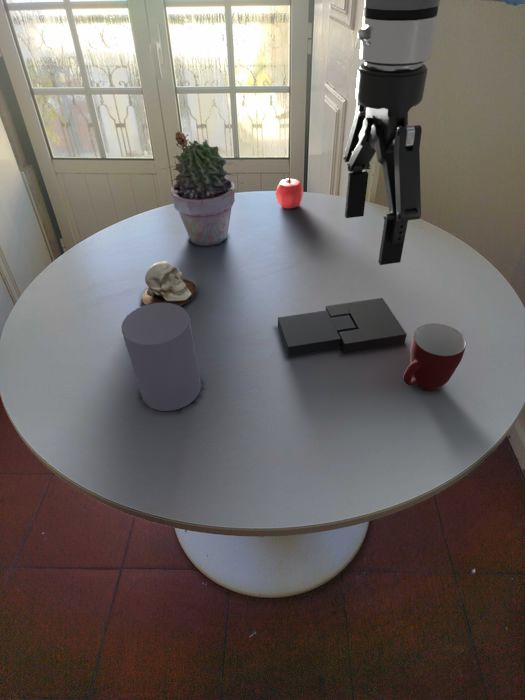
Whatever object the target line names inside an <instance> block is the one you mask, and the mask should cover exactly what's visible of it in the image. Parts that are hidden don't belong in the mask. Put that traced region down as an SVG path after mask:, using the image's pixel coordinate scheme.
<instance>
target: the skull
mask: <svg viewBox="0 0 525 700" xmlns="http://www.w3.org/2000/svg"><path fill="white" fill-rule="evenodd" d="M144 282H145V284H146V286H147V287H148V288H147V289H146V290H144V292H143V294H142V296H141V301H142V302H143V304H144V306H145V305H148V304H153V303H171V304H175V305H178V306H180V307H181V306H182V305H185V304H187V303H188V302H190V301H191V300H193V298H195V296H196V295H197V291H198V290H197V289H198V287H197V285H196V284H195V283H194V282H193V281H191V280H188V279H186V278H184V275H183V273H182V272H181V271H179V270H178V267H176V266H175V265H173V264H171V263H170V262H169V261H158V262H155V263H154V264H152V265H151V266H150V267H149V268H148V269H147V271H146V273H145V276H144Z"/></svg>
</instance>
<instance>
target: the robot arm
mask: <svg viewBox="0 0 525 700" xmlns="http://www.w3.org/2000/svg"><path fill="white" fill-rule="evenodd" d="M480 1H483V2H494V3H495V2H496V3H503V4H505V5H507V6H513V7H516V6H519V5H525V0H480ZM440 2H441V0H364V5H363V13H362V27H361V29H359V30H358V32H357V39H358V40H359V41H360V49H359V59H360V60H361V61H362V62H363V63H361V64H360V65H359V67H358V68H357V75H356V76H357V77H356V88H355V100H356V106H355V113H354V117H353V120H352V125H351V128H350V131H349V135H348V138H347V142H346V145H345V149H344V152H343V156H342V158H343V159H342V160H343V162H344V163H347V164H346V170H347V172H349V173H348V176H347V185H346V186H347V187H346V198H345V208H344V218H346V219H351V218H361V217H364V215H365V207H366V198H367V190H368V181H369V172H368V170H371V164H370V163H371V161H372V159H373V158H374V155H375V154H376V158H377V162H378V163H379V164H380V165H381V166H382V172H383V179H384V180H383V181H384V188H385V193H386V199H387V209H388V213H387V214H385V215H384V216H383V219H384V221H383V228H382V235H381V240H380V246H379V247H380V248H379V255H378V264H379V266H383V265H392V264H398V263H401V261H402V255H403V249H404V244H405V240H406V239H405V238H406V233H407V229H408V222H409V221H413V220H419V219H421V217H422V200H421V198H422V197H421V158H420V157H421V153H420V147H421V139H422V133H423V131H422V125H420V124H417V125H416V124H415V125H409V111H410V110H411V109H412V108H413V107H416V106H418V105H419V104H421V102H422V101H423V98H424V93H425V86H426V81H427V76H428V67H427V66H426V64H424V63H426V62H427V61H429V59H430V58H431V54H432V47H433V42H434V37H435V31H436V27H437V26H436V25H437V20H438V11H439V6H440Z"/></svg>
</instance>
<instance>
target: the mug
mask: <svg viewBox="0 0 525 700" xmlns="http://www.w3.org/2000/svg"><path fill="white" fill-rule="evenodd" d="M466 348H467V341H466V338H465V337H464V335H463V334H462V333H461V332H460V331H459V330H458V329H456V328H454V327H453V326H450V325H447V324H443V323H427V324H423V325H421V326H418V327H417V328H416V329H415V331H414V332H413V336H412V339H411V343H410V351H409V352H410V354H409V355H410V358H409V359H410V361H409V362H410V363H409V365H408V366H407V367H406V369H405V371H404V373H403V377H402V380H403V383H404V384H405V385H407V386H409V387H414V386H417V387H418V388H419V389H421V390H422V391H426V392H433V391H434V392H435V391H436V390H439V389H440V388H441V387H443V386H444V385H445V384H447V383H448V382H449V381H450V379H451V377H452V376H453V374H454V373H455V371H456V369H457V368H458V367H459V365H460V363H461V362H462V359H463V358H464V354H465V351H466Z"/></svg>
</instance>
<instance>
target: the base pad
mask: <svg viewBox="0 0 525 700" xmlns="http://www.w3.org/2000/svg"><path fill="white" fill-rule="evenodd" d="M325 310H327V312H328V314H329V316H330V318H333V317H339V316H346V315H349V316H350V318H351V320H352V321H353V323H354V325H355V327H356V330H350V331H343V332H339V336H340V338H341V341H340V349H341V351H342V354H343V355H346V354H353V353H359V352H364V351H370V350H376V349H383V348H384V349H385V348H390V347H396V346H402V345H405V344H406V339H407V333H406V330H404V328H403V327H402V325H401V323H400V322H399V320H398V319H397V318H396V316H395V314H394V313H393V312H392V310H391V309H390V307H389V305H388V304H387V303H386V301H385V299H384V298H383V297H377V298H371V299H365V300H356V301H351V302H344V303H337V304H330V305H326V306H325Z"/></svg>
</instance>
